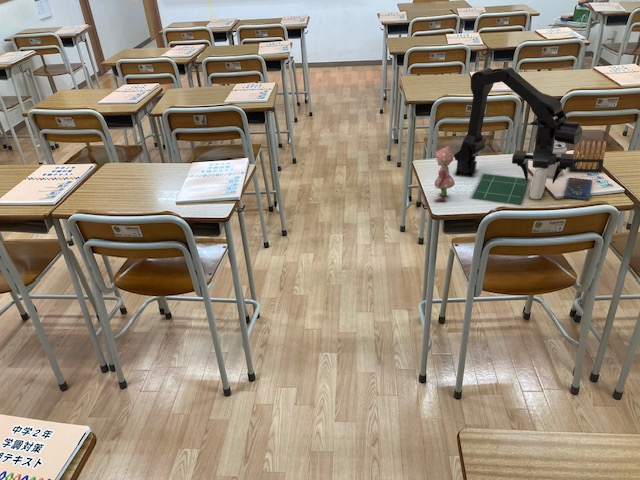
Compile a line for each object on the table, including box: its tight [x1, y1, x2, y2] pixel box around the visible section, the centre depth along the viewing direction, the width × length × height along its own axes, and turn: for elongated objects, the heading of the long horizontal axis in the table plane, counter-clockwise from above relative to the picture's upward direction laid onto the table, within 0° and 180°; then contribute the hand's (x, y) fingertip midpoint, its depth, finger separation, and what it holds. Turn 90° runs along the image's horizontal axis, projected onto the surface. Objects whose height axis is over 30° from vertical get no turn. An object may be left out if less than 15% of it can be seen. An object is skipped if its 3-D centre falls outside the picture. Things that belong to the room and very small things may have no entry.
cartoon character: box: [434, 145, 455, 202], centre depth 168 cm, size 10×7×20 cm
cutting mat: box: [471, 173, 529, 205], centre depth 175 cm, size 16×20×1 cm
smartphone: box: [564, 177, 593, 201], centre depth 169 cm, size 8×1×15 cm
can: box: [547, 140, 568, 178], centre depth 178 cm, size 8×8×12 cm
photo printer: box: [529, 165, 550, 200], centre depth 167 cm, size 10×4×12 cm, turn 152°
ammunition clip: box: [568, 140, 607, 173], centre depth 177 cm, size 11×2×12 cm, turn 75°
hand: (539, 181), depth 167 cm, fingers closed on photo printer, 8 cm apart
